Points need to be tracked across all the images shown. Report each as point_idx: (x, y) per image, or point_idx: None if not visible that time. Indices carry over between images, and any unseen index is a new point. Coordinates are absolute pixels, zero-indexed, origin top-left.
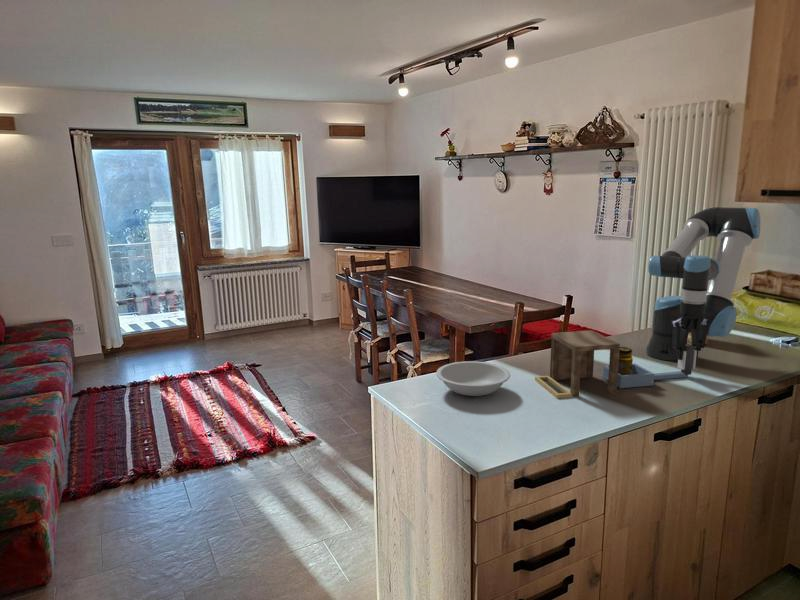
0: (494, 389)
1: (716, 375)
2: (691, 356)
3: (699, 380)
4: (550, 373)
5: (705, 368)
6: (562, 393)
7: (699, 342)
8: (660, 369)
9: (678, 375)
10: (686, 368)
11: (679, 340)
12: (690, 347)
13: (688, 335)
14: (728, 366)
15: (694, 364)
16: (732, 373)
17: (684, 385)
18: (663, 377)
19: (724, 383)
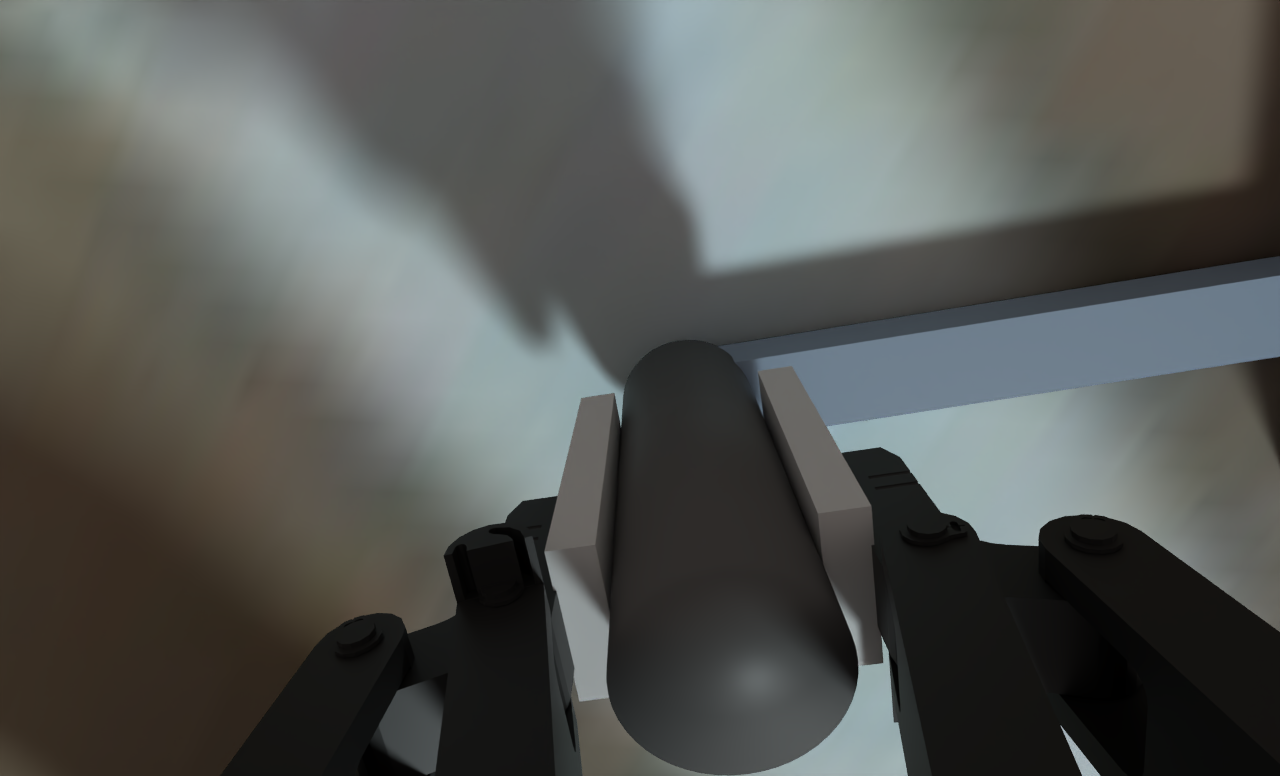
0: None
1: (270, 413)
2: (685, 452)
3: (576, 246)
4: None
5: (299, 641)
6: None
7: (446, 711)
8: None
9: (827, 339)
10: (730, 378)
11: (1241, 696)
12: (752, 557)
13: None
14: (6, 686)
15: (591, 423)
16: (42, 469)
17: (888, 59)
18: (1059, 297)
19: (293, 109)
